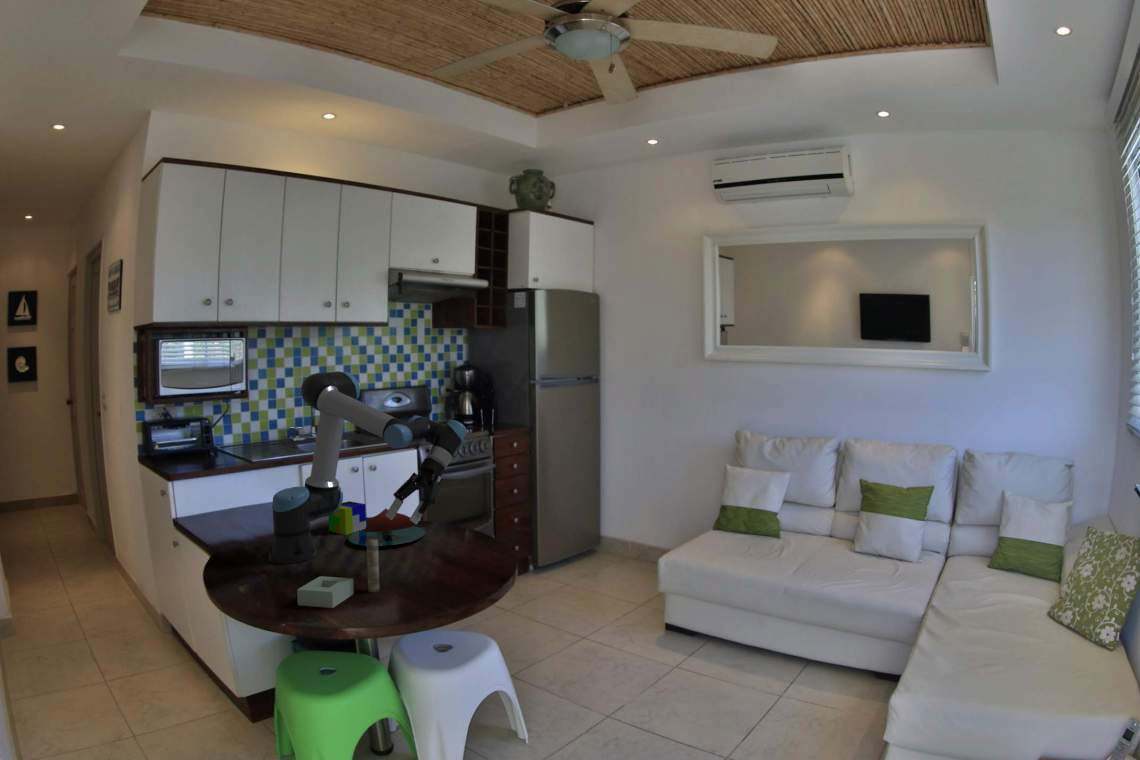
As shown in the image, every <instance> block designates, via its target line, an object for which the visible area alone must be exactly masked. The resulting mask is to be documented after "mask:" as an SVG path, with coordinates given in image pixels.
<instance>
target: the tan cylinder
mask: <svg viewBox="0 0 1140 760" xmlns="http://www.w3.org/2000/svg"><path fill="white" fill-rule="evenodd" d="M366 560H367V561H366V562H367V563H366V566H367V587H368V589H367V592H368V593H376V592H377V593H378V592H379V591H380V566H379V546H378V540H377V539H371V540H367V546H366Z"/></svg>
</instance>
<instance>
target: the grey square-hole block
mask: <svg viewBox="0 0 1140 760" xmlns="http://www.w3.org/2000/svg"><path fill="white" fill-rule="evenodd" d="M354 584H355V583H354V578H349V577H335V576H323V575H321V576H318V577H316V578H314V579H313V580H311V581H309V582H307V583H306V584H304V585H303V586H301V587H299V588H297V589H296V592H297V593H296V595H297V606H304V607H314V608H315V607H318V608H325V609H326V608H329V609H333V608H335V607H337V606H338V605H339V604H341V603H342V602H344V601H345V600H347V599H348V598H349V597H351V596H353V595H354V594H355V590H354V589H355V587H354V586H355V585H354Z"/></svg>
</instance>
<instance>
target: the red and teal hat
mask: <svg viewBox="0 0 1140 760" xmlns="http://www.w3.org/2000/svg"><path fill="white" fill-rule="evenodd" d="M388 510H389V508H384V509H383V510H382V511H381V512H380V513H377V514H376V515H375V516H373V517H370V518H369V520H368V522H367V523H366V528H365V529H364V530H360V531H357V532H354V533H351V534H349V535H348V541H349V543H352V544H354V545H358V546H365V547H367V540H371V539H377V540H378V547H384V546H394V545H400V544H401V545H402V544H408V543H412V542H414V541H417V540H419V539H421V538H422V537H424V536H425V535H426V531H425V530H424V529H423V528H421V527H418V526H417V525H416V524H414V523H413V522H412V521H410V520H409V519H410V518H411V516H408V515H405V514H403V513H399V512H397V513H396V515H395V517H394V518H393V520H390V519H389V518H388V517H386V516H385V515H386V513H387V512H388Z"/></svg>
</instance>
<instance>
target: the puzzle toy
mask: <svg viewBox="0 0 1140 760" xmlns="http://www.w3.org/2000/svg"><path fill="white" fill-rule="evenodd" d="M366 505H367V504H366V503H361V502H355V501H349V500H348V501H345V502H344V501H343V502H342V505H341V507H340V508H339V509H338V510H337V511H336V512H335V513H333V514H331V515H329V516H328V532H330V531H332V532H331V533H335V532H336V533H335V534H341V535H345V536H347V535H351V534H353V532H354V533H355V532H356V531H359V530H362V529H365V528H366V526H367V511H366V509H367V508H366V507H367V506H366Z"/></svg>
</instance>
